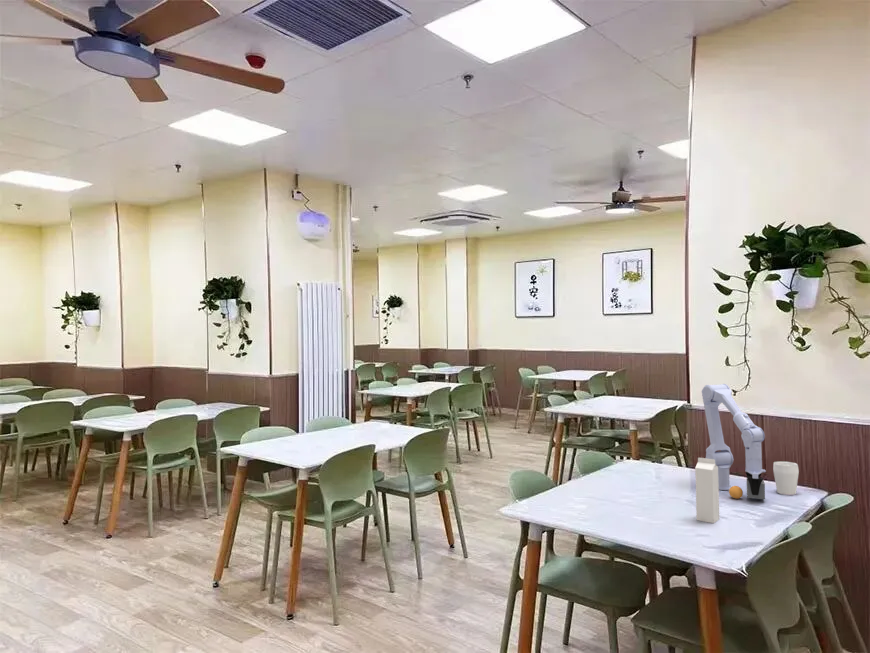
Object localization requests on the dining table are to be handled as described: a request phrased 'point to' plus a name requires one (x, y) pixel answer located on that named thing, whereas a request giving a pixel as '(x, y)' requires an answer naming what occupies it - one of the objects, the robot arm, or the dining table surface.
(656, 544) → the dining table surface
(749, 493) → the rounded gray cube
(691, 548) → the dining table surface
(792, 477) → the cup
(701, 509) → the milk
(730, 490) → the ball
